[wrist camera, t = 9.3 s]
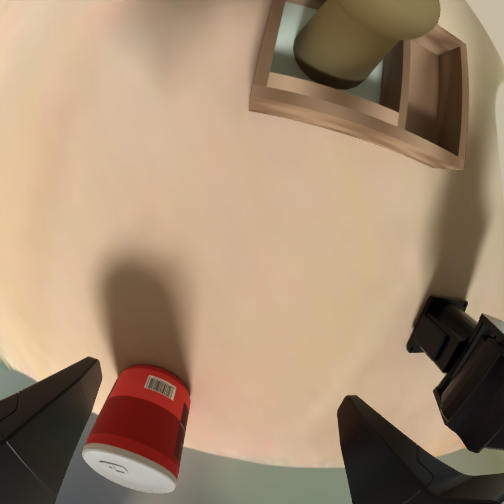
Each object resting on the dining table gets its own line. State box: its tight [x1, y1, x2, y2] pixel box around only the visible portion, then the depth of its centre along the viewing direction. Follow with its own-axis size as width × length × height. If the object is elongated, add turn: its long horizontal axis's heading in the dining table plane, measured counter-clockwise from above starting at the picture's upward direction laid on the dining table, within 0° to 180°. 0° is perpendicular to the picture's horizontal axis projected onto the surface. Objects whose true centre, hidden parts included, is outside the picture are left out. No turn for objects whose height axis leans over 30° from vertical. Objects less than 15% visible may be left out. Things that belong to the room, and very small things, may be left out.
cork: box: [293, 0, 440, 90], centre depth 10 cm, size 6×6×11 cm
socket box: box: [249, 0, 469, 170], centre depth 15 cm, size 16×12×4 cm
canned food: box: [82, 365, 190, 493], centre depth 19 cm, size 8×8×11 cm
